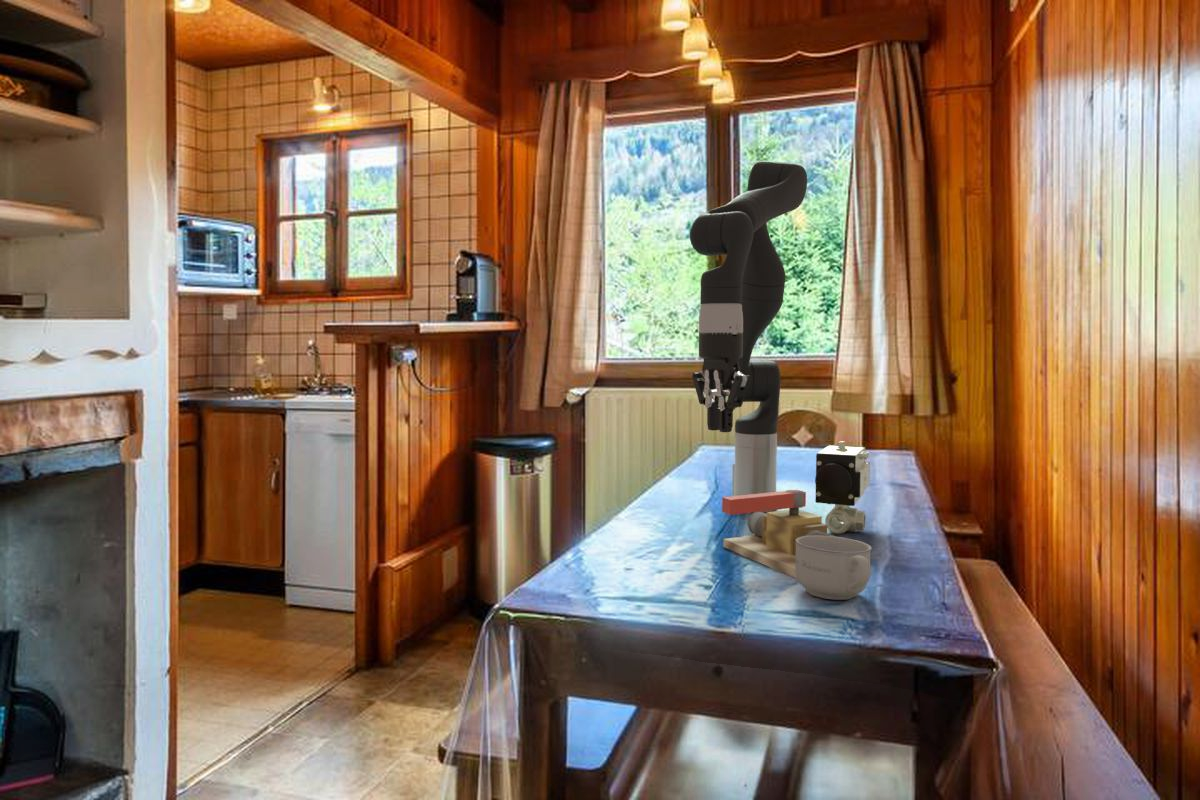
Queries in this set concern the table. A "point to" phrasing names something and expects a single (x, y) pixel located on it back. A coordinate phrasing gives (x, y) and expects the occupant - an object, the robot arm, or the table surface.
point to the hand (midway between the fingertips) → (719, 430)
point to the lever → (763, 502)
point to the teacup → (832, 566)
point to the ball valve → (842, 485)
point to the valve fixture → (777, 537)
